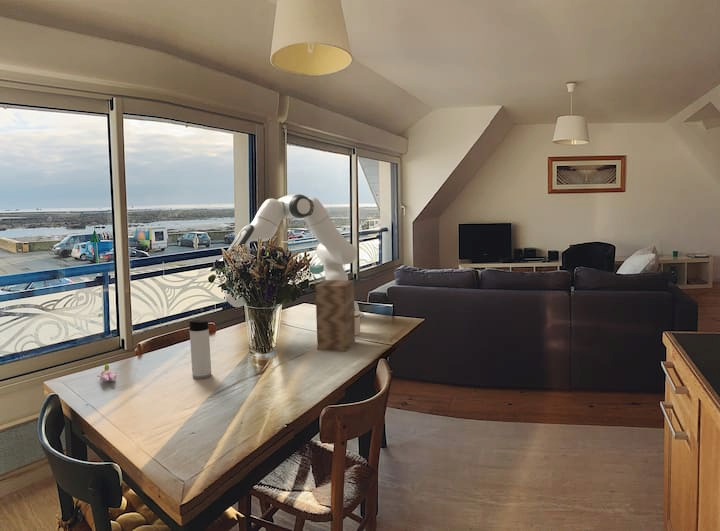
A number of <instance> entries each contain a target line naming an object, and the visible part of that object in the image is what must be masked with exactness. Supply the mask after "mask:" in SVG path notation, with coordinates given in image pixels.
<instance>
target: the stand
mask: <svg viewBox="0 0 720 531" xmlns="http://www.w3.org/2000/svg"><path fill="white" fill-rule="evenodd" d="M354 301H355V280H349V279H348V280H326V279H325V280H323V281H321V282H320V283H318V284H317V285H315V311H316V312H315V313H316V342H317V343H316V344H317V345H316V346H317V348H316V350H318V351H332V352H333V351H334V352H347V351H348V350H349V349H350V348H351V347H352V346H353V344H354V343H355V342H356V335H355V318H354Z"/></svg>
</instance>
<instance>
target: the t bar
mask: <svg viewBox="0 0 720 531" xmlns="http://www.w3.org/2000/svg"><path fill="white" fill-rule="evenodd" d="M309 266H310V270H311V271H312V273H311V274H312V275H319V274H321V273H323V272H324V265H322V264H317V265H309Z"/></svg>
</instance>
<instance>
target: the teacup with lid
mask: <svg viewBox="0 0 720 531" xmlns="http://www.w3.org/2000/svg"><path fill="white" fill-rule="evenodd" d="M359 312H360V311H359ZM359 312H356V311H355V310H354V318H355V336H358V335H360V334H361V317H360V313H359Z"/></svg>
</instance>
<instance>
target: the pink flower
mask: <svg viewBox="0 0 720 531" xmlns="http://www.w3.org/2000/svg"><path fill="white" fill-rule="evenodd" d="M117 373H118V372H117V371H115V372H114V371H113V370H111V369H110V365H108V363H106V364H105V365H104V369H103V370H101V373H100V375H99V374H98V375H96V377H98V378H99V380H100V381H102V382H106V381H107V383H109V382H108V381H110V382H112V381H113V380H115V379H116V378H117V376H118V375H117Z"/></svg>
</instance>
